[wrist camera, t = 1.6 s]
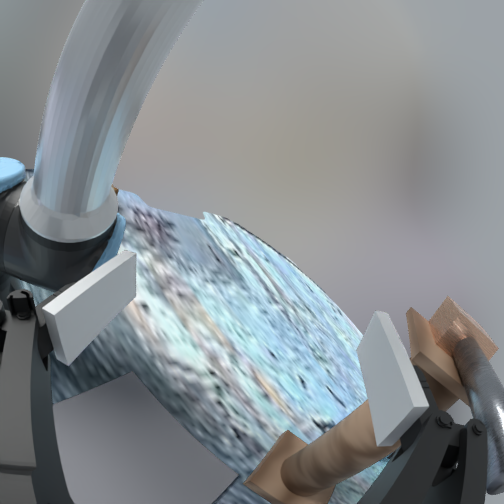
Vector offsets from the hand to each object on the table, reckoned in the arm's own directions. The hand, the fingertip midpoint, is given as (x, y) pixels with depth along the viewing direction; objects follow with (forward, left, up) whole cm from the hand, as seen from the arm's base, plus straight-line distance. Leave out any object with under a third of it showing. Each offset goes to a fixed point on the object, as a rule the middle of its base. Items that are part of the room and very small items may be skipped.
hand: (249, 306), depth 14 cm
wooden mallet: (+18, +9, +1) cm, 20 cm away
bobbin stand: (+18, +15, -29) cm, 37 cm away
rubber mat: (-1, -5, -29) cm, 29 cm away
